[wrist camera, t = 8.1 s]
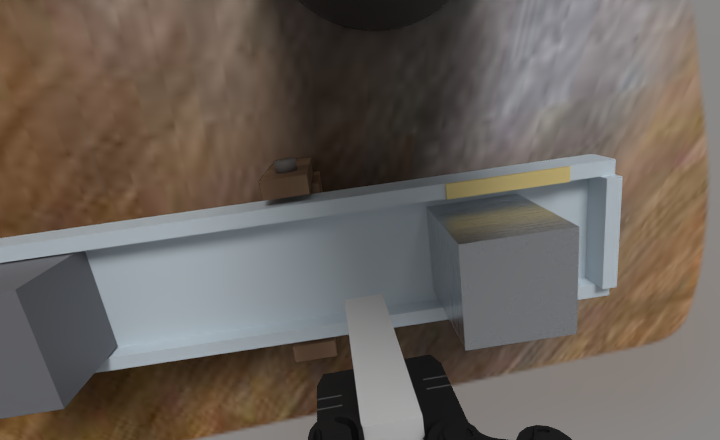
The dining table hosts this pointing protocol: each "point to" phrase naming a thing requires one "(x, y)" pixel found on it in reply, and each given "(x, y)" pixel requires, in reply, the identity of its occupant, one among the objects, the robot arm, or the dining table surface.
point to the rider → (504, 270)
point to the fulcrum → (289, 182)
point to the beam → (257, 273)
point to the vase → (374, 12)
